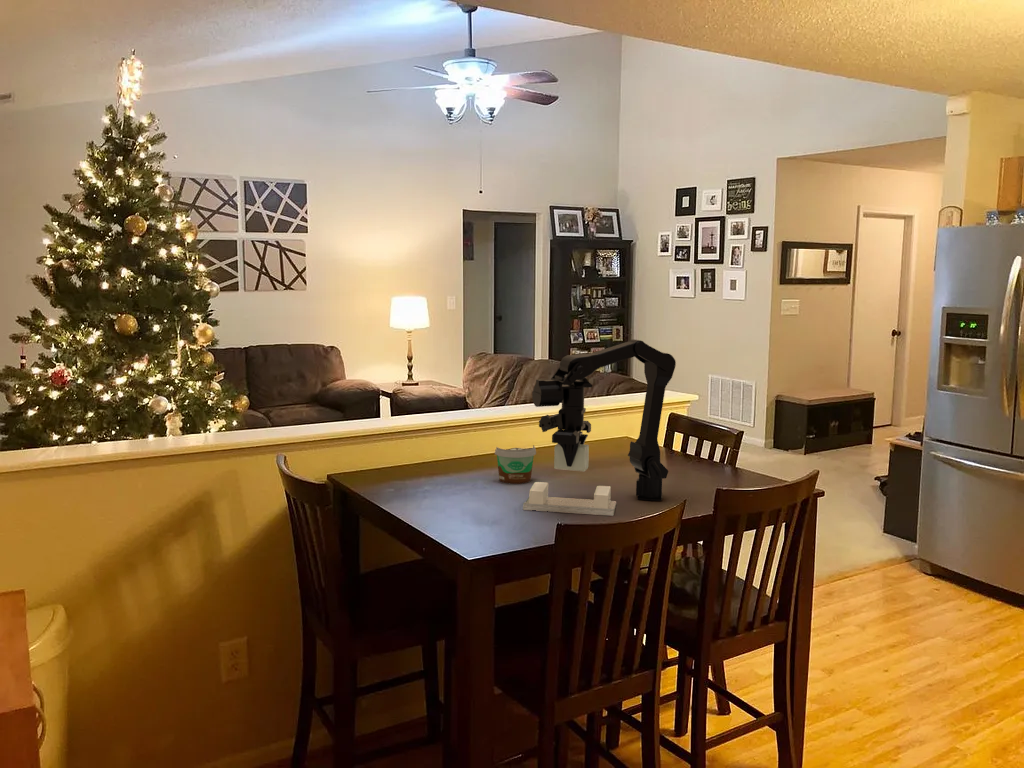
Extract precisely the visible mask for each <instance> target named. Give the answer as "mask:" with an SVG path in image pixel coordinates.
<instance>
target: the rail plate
mask: <svg viewBox="0 0 1024 768" xmlns="http://www.w3.org/2000/svg"><path fill="white" fill-rule="evenodd" d="M616 506H617V501H615V500H610V504H609V508H608V509H604V508H594V499H588V498H587V499H586V498H572V497H555V496H553V497H552V496H548V498H547V500H546V502H545V504H543V505H542V504H529V497H528V498H527V500H526V501H524V502H523V505H522V510H523V511H532V510H536V511H535V512H537V511H538V512H547V511H548V512H551V513H566V514H578V515H579V514H580V515H581V514H582V515H592V516H593V515H594V516H595V515H596V516H597V515H598V516H611V517H613V516H614V514H615V510H616Z"/></svg>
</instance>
